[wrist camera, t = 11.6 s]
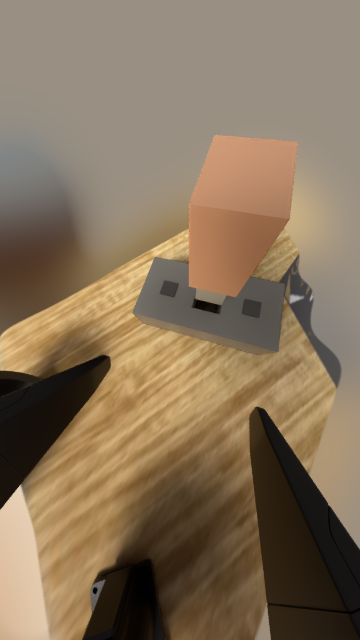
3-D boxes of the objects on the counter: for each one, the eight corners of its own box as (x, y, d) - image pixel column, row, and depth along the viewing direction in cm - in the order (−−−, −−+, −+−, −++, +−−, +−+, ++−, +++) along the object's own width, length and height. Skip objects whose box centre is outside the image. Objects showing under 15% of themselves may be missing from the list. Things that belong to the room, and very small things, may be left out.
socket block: (258, 355, 21) (279, 351, 17) (143, 323, 24) (131, 312, 19) (265, 300, 24) (286, 282, 19) (161, 276, 26) (154, 255, 21)
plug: (224, 314, 16) (289, 219, 6) (188, 305, 17) (189, 204, 6) (232, 275, 18) (297, 142, 7) (199, 269, 18) (214, 134, 8)
